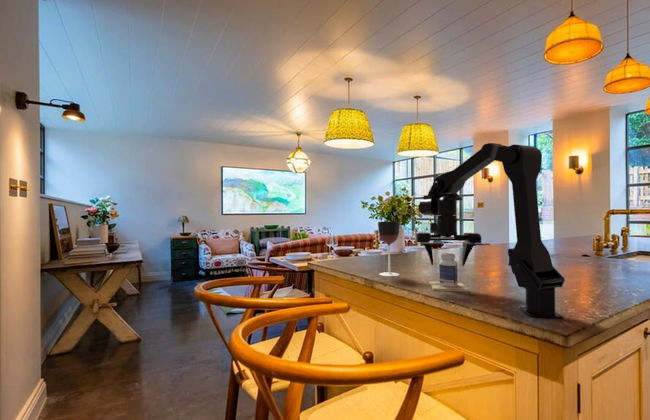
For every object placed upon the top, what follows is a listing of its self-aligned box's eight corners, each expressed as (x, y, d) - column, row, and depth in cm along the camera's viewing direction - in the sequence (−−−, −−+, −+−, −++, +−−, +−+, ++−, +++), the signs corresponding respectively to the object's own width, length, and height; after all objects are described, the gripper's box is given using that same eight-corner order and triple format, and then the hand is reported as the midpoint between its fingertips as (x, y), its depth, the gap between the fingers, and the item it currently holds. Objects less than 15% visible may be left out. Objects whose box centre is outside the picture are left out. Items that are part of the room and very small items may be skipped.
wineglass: (403, 273, 124) (402, 221, 124) (395, 277, 117) (394, 222, 117) (383, 271, 129) (383, 221, 129) (375, 275, 121) (374, 222, 121)
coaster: (469, 291, 95) (469, 289, 95) (433, 290, 97) (433, 288, 97) (461, 284, 105) (461, 282, 105) (429, 283, 106) (429, 281, 106)
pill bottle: (459, 287, 97) (459, 255, 97) (440, 286, 98) (440, 255, 98) (455, 283, 103) (455, 253, 103) (437, 282, 104) (437, 252, 104)
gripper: (472, 215, 107) (472, 261, 107) (414, 215, 111) (414, 260, 111) (481, 215, 96) (482, 267, 96) (417, 215, 100) (417, 266, 100)
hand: (447, 265), depth 101 cm, fingers open, 9 cm apart
